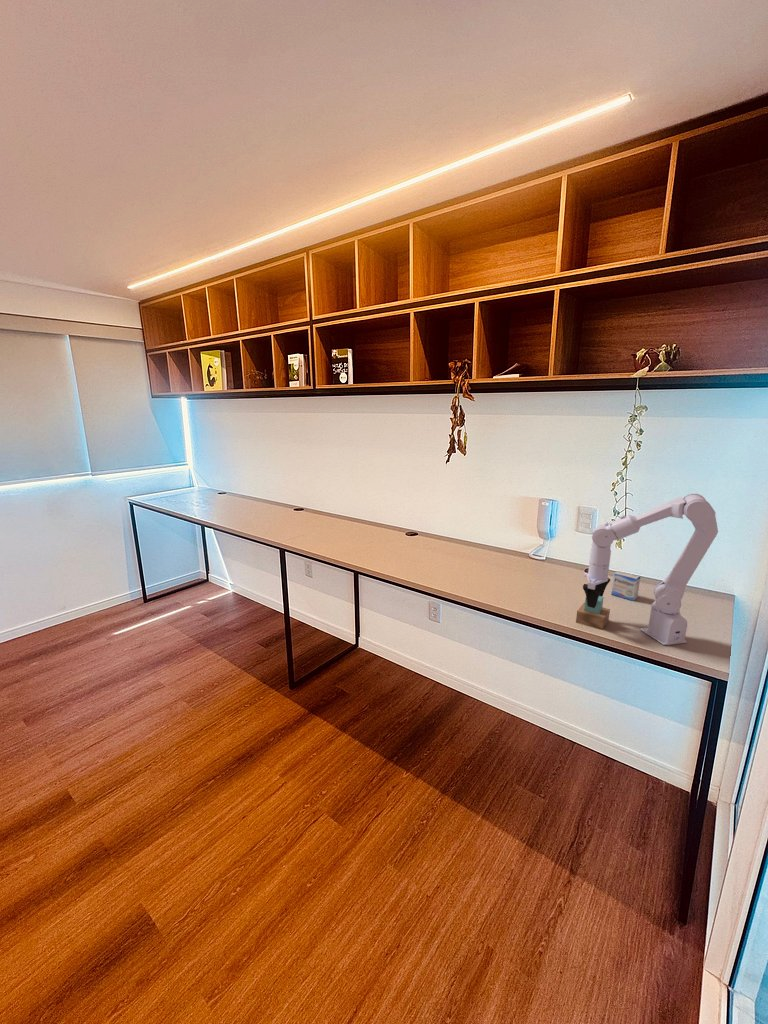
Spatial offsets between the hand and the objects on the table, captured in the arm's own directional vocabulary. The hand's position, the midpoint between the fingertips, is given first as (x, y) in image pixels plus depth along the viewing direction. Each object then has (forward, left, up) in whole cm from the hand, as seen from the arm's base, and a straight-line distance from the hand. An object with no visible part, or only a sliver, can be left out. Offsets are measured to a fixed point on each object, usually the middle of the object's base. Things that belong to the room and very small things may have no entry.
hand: (594, 602), depth 141 cm
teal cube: (0, 0, -3) cm, 3 cm away
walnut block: (0, 0, -7) cm, 7 cm away
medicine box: (+15, -24, -7) cm, 29 cm away
